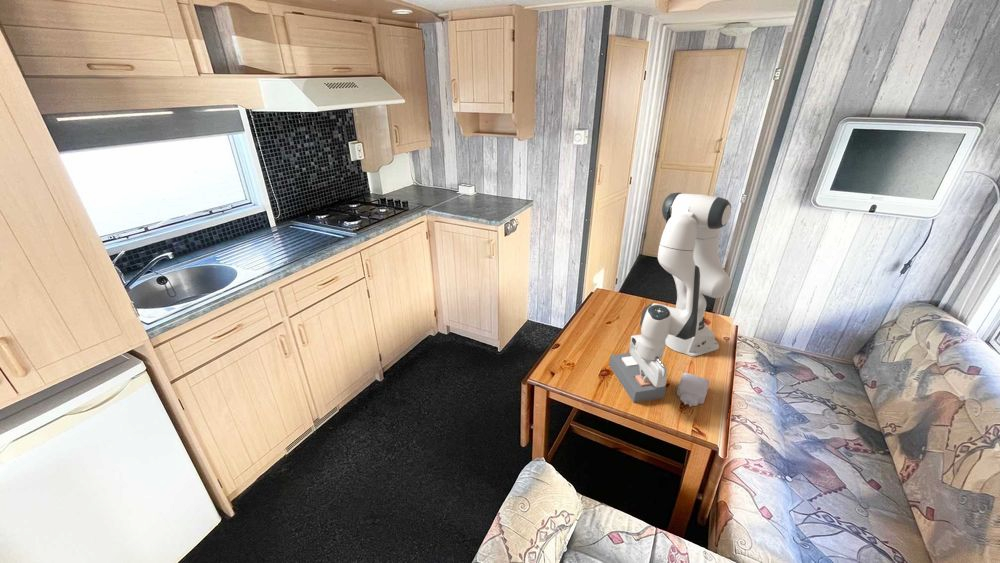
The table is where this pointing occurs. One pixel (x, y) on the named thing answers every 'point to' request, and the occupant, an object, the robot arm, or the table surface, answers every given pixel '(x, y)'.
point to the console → (634, 380)
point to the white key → (629, 361)
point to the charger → (692, 389)
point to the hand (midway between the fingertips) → (643, 379)
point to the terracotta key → (642, 381)
